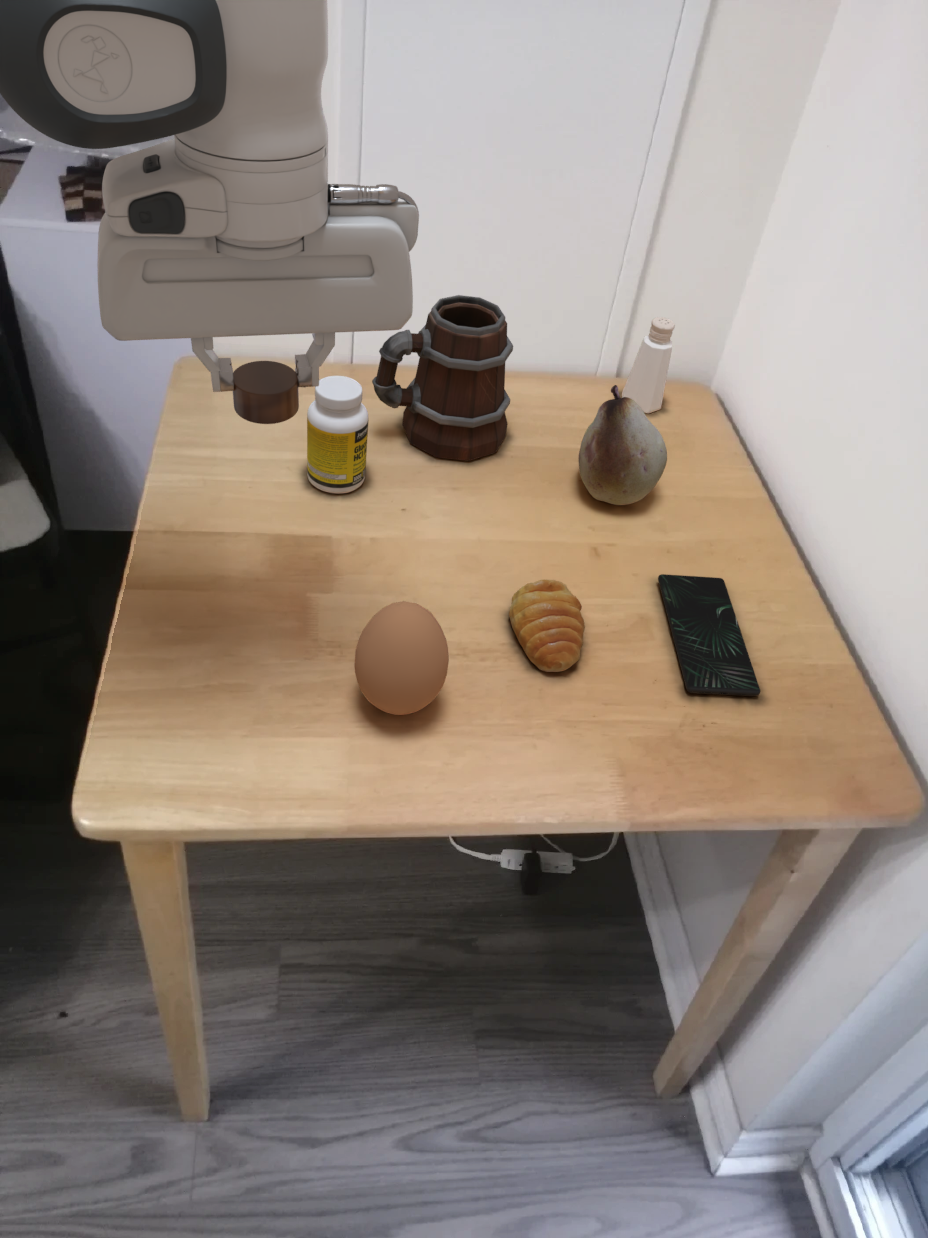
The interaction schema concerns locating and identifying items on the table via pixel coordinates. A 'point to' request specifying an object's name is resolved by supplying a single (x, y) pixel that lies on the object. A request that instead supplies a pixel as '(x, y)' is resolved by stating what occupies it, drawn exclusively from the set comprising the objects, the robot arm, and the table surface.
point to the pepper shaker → (651, 367)
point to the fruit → (621, 453)
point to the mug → (452, 379)
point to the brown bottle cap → (265, 392)
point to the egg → (401, 658)
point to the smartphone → (707, 636)
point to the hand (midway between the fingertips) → (264, 385)
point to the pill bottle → (337, 435)
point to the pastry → (548, 624)
